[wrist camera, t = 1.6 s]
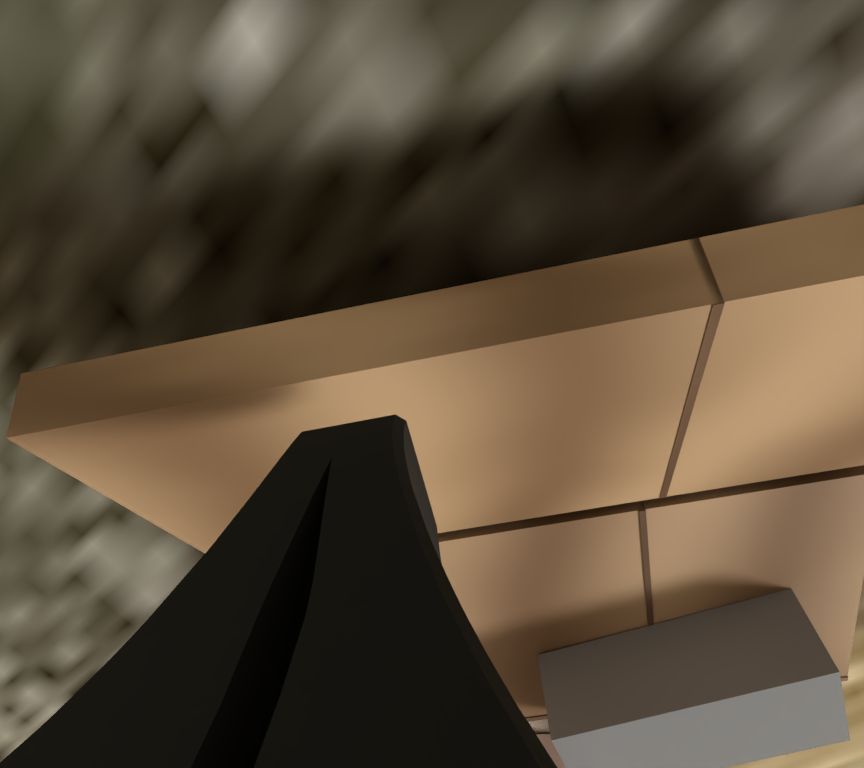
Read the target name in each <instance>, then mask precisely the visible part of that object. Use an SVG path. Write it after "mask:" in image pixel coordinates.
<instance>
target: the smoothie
mask: <svg viewBox="0 0 864 768" xmlns="http://www.w3.org/2000/svg"><path fill="white" fill-rule="evenodd" d="M536 735H537V737H538V738H539V740H540V741H541V743H542V745H543V746H544V748H545V749H546V751H547V752H548V754H549V755H550V757H551V758H552V760H553V762H554V763H555V765H556V766H557V768H566V766H565V764H564V762H563V761H562V759H561V757H560V755H559V753H558V752H557V750H556V748H555V746H554V744H553V743H552V741H551V735H550V734H536Z"/></svg>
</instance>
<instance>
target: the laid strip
mask: <svg viewBox="0 0 864 768" xmlns="http://www.w3.org/2000/svg"><path fill="white" fill-rule="evenodd" d="M438 540H439V549H440V556H441V562H442V566H443V568H444V570H445V573H446V575H447V577H448V579H449V581H450V584H451V586H452V588H453V590H454V592H455V594H456V596H457V598H458V600H459V602H460V604H461V606H462V608H463V610H464V612H465V614H466V616H467V618H468V620H469V621H470V623H471V625H472V627H473V629H474V631H475V632H476V634H477V636H478V638H479V640H480V642H481V644H482V645H483V647H484V649H485V651H486V653H487V655H488V656H489V658H490V660H491V661H492V663H493V665H494V667H495V668H496V670H497V672H498V673H499V675H500V677H501V679H502V680H503V682H504V684H505V685H506V687H507V689H508V691H509V692H510V694H511V696H512V697H513V699H514V701H515V702H516V704H517V706H518V707H519V709H520V710H521V712H522V714H523V715H524V717H525V718H526V720H527V721H534V720H542V719H548V717H547V711H546V704H545V698H544V692H543V686H542V680H541V674H540V668H539V661H538V655H540V654H544V653H547V652H551V651H555V650H559V649H563V648H566V647H570V646H574V645H578V644H582V643H585V642H589V641H593V640H597V639H600V638H604V637H608V636H612V635H616V634H619V633H623V632H627V631H631V630H635V629H638V628H642V627H646V626H650V625H654V624H657V623H661V622H665V621H669V620H673V619H676V618H680V617H684V616H688V615H692V614H695V613H699V612H703V611H707V610H710V609H714V608H718V607H722V606H726V605H729V604H733V603H737V602H741V601H745V600H748V599H752V598H756V597H760V596H764V595H767V594H771V593H775V592H779V591H783V590H786V589H790V588H791V589H792V590H793V592H794V594H795V595H796V597H797V599H798V601H799V602H800V604H801V606H802V608H803V609H804V611H805V613H806V615H807V616H808V618H809V620H810V621H811V623H812V625H813V627H814V628H815V630H816V632H817V634H818V635H819V637H820V639H821V641H822V642H823V644H824V646H825V647H826V649H827V651H828V653H829V654H830V656H831V658H832V660H833V661H834V663H835V665H836V666H837V668H838V670H839V672H840V678H841V681H847V680H848V676H847V675H848V669H849V663H850V656H851V650H852V644H853V638H854V632H855V626H856V620H857V613H858V607H859V601H860V595H861V589H862V583H863V576H864V465H861V466H855V467H849V468H843V469H836V470H830V471H824V472H818V473H811V474H805V475H799V476H793V477H787V478H780V479H774V480H768V481H762V482H755V483H749V484H743V485H737V486H730V487H724V488H718V489H712V490H705V491H699V492H693V493H687V494H680V495H674V496H668V497H666V498H661V499H659V498H655V499H649V500H643V501H637V502H631V503H624V504H618V505H612V506H606V507H599V508H593V509H587V510H581V511H574V512H568V513H562V514H556V515H549V516H543V517H537V518H531V519H524V520H518V521H512V522H506V523H499V524H493V525H487V526H481V527H474V528H468V529H462V530H456V531H450V532H443V533H438Z"/></svg>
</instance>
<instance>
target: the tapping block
mask: <svg viewBox="0 0 864 768" xmlns="http://www.w3.org/2000/svg"><path fill="white" fill-rule="evenodd" d="M538 661H539V668H540V674H541V680H542V686H543V692H544V698H545V704H546V711H547V717H548V723H549V729H550V735H551V741H552V743H553V744H554V746H555V748H556V750H557V752H558V753H559V755H560V757H561V759H562V761H563V762H564V764H565V766H566V768H725V767H730V766H734V765H739V764H743V763H748V762H753V761H757V760H762V759H766V758H771V757H775V756H780V755H784V754H789V753H794V752H798V751H803V750H807V749H812V748H816V747H821V746H826V745H830V744H835V743H839V742H844V741H848V740H850V736H849V730H848V723H847V717H846V710H845V704H844V697H843V691H842V684H841V678H840V672H839V670H838V668H837V666H836V665H835V663H834V661H833V660H832V658H831V656H830V654H829V653H828V651H827V649H826V647H825V646H824V644H823V642H822V641H821V639H820V637H819V635H818V634H817V632H816V630H815V628H814V627H813V625H812V623H811V621H810V620H809V618H808V616H807V615H806V613H805V611H804V609H803V608H802V606H801V604H800V602H799V601H798V599H797V597H796V595H795V594H794V592H793V590H792V589H791V588H790V589H786V590H783V591H779V592H775V593H771V594H767V595H764V596H760V597H756V598H752V599H748V600H745V601H741V602H737V603H733V604H729V605H726V606H722V607H718V608H714V609H710V610H707V611H703V612H699V613H695V614H692V615H688V616H684V617H680V618H676V619H673V620H669V621H665V622H661V623H657V624H654V625H650V626H646V627H642V628H638V629H635V630H631V631H627V632H623V633H619V634H616V635H612V636H608V637H604V638H600V639H597V640H593V641H589V642H585V643H582V644H578V645H574V646H570V647H566V648H563V649H559V650H555V651H551V652H547V653H544V654H540V655H538Z"/></svg>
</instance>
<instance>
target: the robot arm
mask: <svg viewBox="0 0 864 768" xmlns="http://www.w3.org/2000/svg"><path fill="white" fill-rule="evenodd" d="M0 768H557V766H556V765H555V763H554V762H553V760H552V758H551V757H550V755H549V754H548V752H547V751H546V749H545V748H544V746H543V745H542V743H541V741H540V740H539V738H538V737H537V735H536V734H535V732H534V731H533V729H532V727H531V726H530V724H529V723H528V721H527V720H526V718H525V717H524V715H523V714H522V712H521V710H520V709H519V707H518V706H517V704H516V702H515V701H514V699H513V697H512V696H511V694H510V692H509V691H508V689H507V687H506V685H505V684H504V682H503V680H502V679H501V677H500V675H499V673H498V672H497V670H496V668H495V667H494V665H493V663H492V661H491V660H490V658H489V656H488V655H487V653H486V651H485V649H484V647H483V645H482V644H481V642H480V640H479V638H478V636H477V634H476V632H475V631H474V629H473V627H472V625H471V623H470V621H469V620H468V618H467V616H466V614H465V612H464V610H463V608H462V606H461V604H460V602H459V600H458V598H457V596H456V594H455V592H454V590H453V588H452V586H451V584H450V581H449V579H448V577H447V575H446V573H445V570H444V568H443V566H442V562H441V556H440V549H439V540H438V532H437V525H436V521H435V518H434V515H433V511H432V508H431V504H430V501H429V497H428V494H427V490H426V487H425V483H424V480H423V477H422V473H421V470H420V466H419V463H418V459H417V456H416V452H415V449H414V445H413V442H412V438H411V435H410V432H409V428H408V425H407V421H406V420H404V419H402V418H401V417H399V416H397V415H396V414H395V415H390V416H384V417H379V418H373V419H368V420H363V421H357V422H352V423H346V424H341V425H335V426H330V427H325V428H319V429H314V430H308V431H303V432H301V433H300V434H299V435H298V437H297V438H296V439H295V440H294V441H293V443H292V444H291V445H290V446H289V448H288V449H287V450H286V451H285V453H284V454H283V455H282V456H281V458H280V459H279V460H278V462H277V463H276V464H275V466H274V467H273V468H272V469H271V471H270V472H269V473H268V475H267V476H266V477H265V479H264V480H263V481H262V483H261V484H260V485H259V486H258V488H257V489H256V490H255V492H254V493H253V494H252V496H251V497H250V498H249V499H248V501H247V502H246V503H245V504H244V506H243V507H242V508H241V509H240V511H239V512H238V513H237V515H236V516H235V517H234V518H233V520H232V521H231V522H230V523H229V525H228V526H227V527H226V528H225V530H224V531H223V532H222V533H221V535H220V536H219V537H218V538H217V540H216V541H215V542H214V544H213V545H212V546H211V547H210V548H209V550H208V551H207V552H206V553H205V554H204V555H203V557H202V558H201V559H200V560H199V561H198V562H197V564H196V565H195V566H194V567H193V568H192V569H191V570H190V572H189V573H188V574H187V575H186V576H185V577H184V578H183V580H182V581H181V582H180V583H179V584H178V585H177V587H176V588H175V589H174V590H173V591H172V592H171V593H170V595H169V596H168V597H167V598H166V599H165V600H164V601H163V603H162V604H161V605H160V606H159V607H158V608H157V610H156V611H155V612H154V613H153V614H152V615H151V616H150V618H149V619H148V620H147V621H146V622H145V623H144V624H143V625H142V626H141V627H140V629H139V630H138V631H137V632H136V633H135V634H134V635H133V636H132V637H131V638H130V639H129V640H128V641H127V642H126V643H125V644H124V645H123V647H122V648H121V649H120V650H119V651H118V652H117V653H116V654H115V655H114V656H113V657H112V658H111V659H110V660H109V661H108V662H107V663H106V664H105V665H104V666H103V667H102V668H101V669H100V670H99V671H98V672H97V673H96V674H95V675H94V676H93V677H92V678H91V679H90V680H89V681H88V682H87V683H86V684H85V685H84V686H83V687H82V688H81V689H80V690H79V691H78V692H77V693H76V694H75V695H74V696H73V697H72V698H70V699H69V700H68V701H67V702H66V703H65V704H64V705H63V706H62V707H61V708H60V709H59V710H58V711H57V712H56V713H55V714H54V715H53V716H52V717H51V718H50V719H49V720H48V721H46V722H45V723H44V724H43V725H42V726H41V727H40V728H39V729H38V730H37V731H36V732H34V733H33V734H32V735H31V736H30V737H29V738H28V739H27V740H25V741H24V742H23V743H22V744H21V745H20V746H19V747H17V748H16V749H15V750H14V751H13V752H12V753H11V754H10V755H8V756H7V757H6V758H5V759H4V760H3V761H2V762H0Z"/></svg>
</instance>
